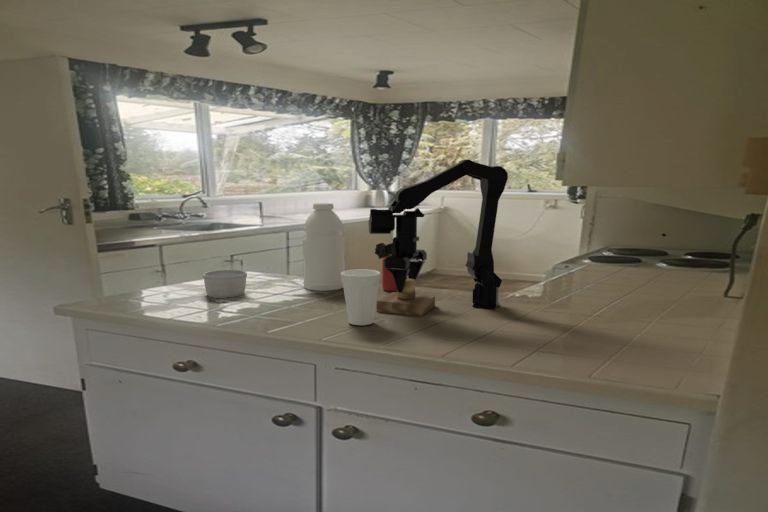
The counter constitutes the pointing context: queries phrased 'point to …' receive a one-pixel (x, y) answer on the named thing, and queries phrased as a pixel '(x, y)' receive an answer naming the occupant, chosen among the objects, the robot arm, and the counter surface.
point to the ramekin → (225, 283)
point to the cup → (361, 294)
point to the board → (406, 304)
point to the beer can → (387, 279)
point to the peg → (407, 290)
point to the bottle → (323, 249)
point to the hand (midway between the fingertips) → (406, 289)
